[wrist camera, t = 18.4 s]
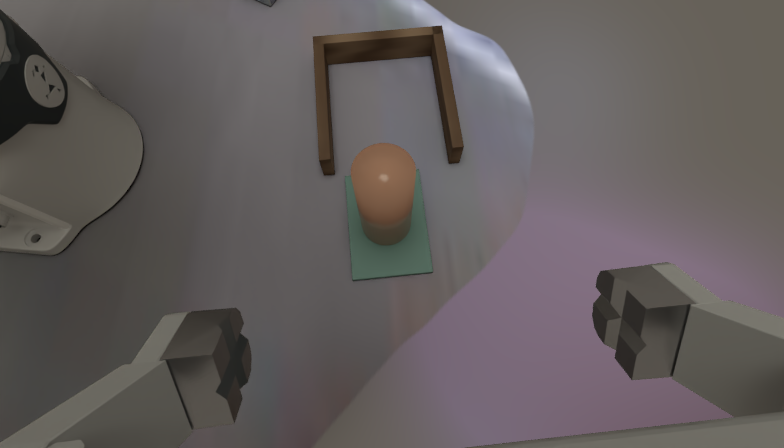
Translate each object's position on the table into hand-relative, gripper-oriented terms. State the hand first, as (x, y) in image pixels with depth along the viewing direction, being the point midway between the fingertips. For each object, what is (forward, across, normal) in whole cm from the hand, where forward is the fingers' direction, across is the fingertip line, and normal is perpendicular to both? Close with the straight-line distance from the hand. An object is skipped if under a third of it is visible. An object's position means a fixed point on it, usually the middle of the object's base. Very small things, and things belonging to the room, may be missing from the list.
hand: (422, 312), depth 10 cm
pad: (+28, 0, +11) cm, 30 cm away
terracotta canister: (+28, 0, +10) cm, 30 cm away
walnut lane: (+37, -1, +2) cm, 37 cm away
